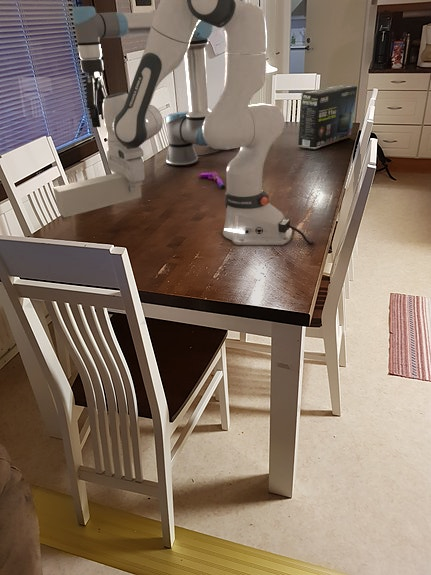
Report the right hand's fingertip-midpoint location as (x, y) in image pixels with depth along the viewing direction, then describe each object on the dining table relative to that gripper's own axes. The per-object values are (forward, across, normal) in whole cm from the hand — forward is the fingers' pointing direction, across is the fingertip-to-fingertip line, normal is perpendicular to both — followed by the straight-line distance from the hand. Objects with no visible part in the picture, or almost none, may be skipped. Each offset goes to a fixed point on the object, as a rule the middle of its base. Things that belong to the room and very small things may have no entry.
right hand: (128, 189), depth 154 cm
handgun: (+13, -18, +47) cm, 52 cm away
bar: (+3, 0, -10) cm, 11 cm away
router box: (+13, -30, +130) cm, 134 cm away
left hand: (-16, -29, +6) cm, 34 cm away
